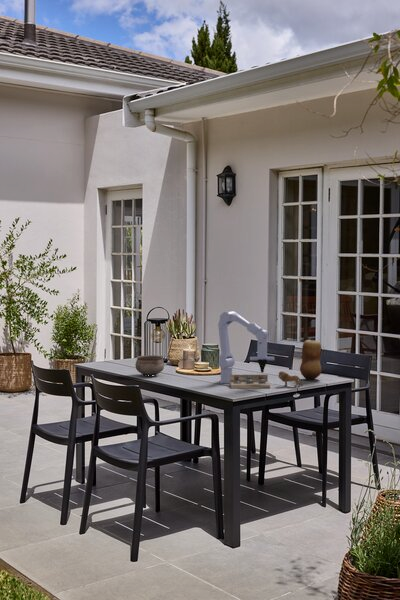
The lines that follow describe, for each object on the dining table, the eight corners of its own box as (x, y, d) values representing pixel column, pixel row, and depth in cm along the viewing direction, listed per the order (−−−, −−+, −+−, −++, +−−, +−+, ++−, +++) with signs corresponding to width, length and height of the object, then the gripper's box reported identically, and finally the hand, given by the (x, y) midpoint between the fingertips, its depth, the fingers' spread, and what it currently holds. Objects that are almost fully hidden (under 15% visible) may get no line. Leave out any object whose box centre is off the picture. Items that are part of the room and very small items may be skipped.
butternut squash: (320, 381, 494) (321, 341, 493) (299, 380, 497) (299, 341, 495) (321, 378, 508) (321, 339, 507) (300, 377, 510) (300, 338, 509)
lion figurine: (278, 386, 474) (278, 371, 474) (278, 385, 480) (278, 370, 479) (302, 387, 472) (303, 372, 471) (303, 386, 477) (303, 371, 477)
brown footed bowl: (149, 372, 533) (148, 354, 533) (172, 374, 524) (172, 355, 523) (126, 377, 512) (126, 358, 511) (151, 379, 502) (150, 360, 502)
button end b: (258, 382, 478) (258, 379, 478) (264, 382, 478) (264, 379, 478) (259, 383, 474) (259, 380, 474) (265, 383, 474) (265, 380, 474)
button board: (229, 384, 483) (229, 374, 482) (267, 384, 483) (267, 374, 483) (231, 388, 469) (231, 378, 468) (270, 388, 469) (270, 378, 469)
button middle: (246, 382, 478) (246, 379, 477) (252, 382, 478) (252, 379, 478) (247, 383, 474) (247, 380, 474) (253, 383, 474) (253, 380, 474)
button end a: (234, 384, 477) (234, 381, 477) (239, 384, 478) (239, 381, 477) (234, 385, 474) (234, 382, 474) (240, 385, 474) (240, 382, 474)
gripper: (250, 350, 471) (250, 373, 471) (275, 350, 471) (275, 373, 472) (249, 349, 478) (249, 371, 479) (273, 349, 478) (273, 371, 479)
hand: (262, 372), depth 476 cm, fingers closed
